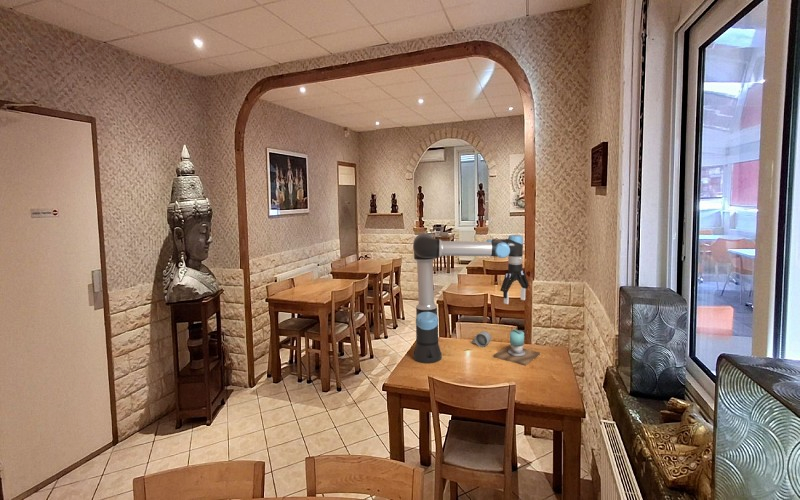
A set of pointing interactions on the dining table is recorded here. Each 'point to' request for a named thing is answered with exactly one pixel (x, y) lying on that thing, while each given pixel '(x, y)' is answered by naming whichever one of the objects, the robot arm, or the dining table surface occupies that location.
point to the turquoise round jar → (516, 337)
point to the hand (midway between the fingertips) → (514, 301)
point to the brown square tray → (516, 354)
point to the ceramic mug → (482, 339)
